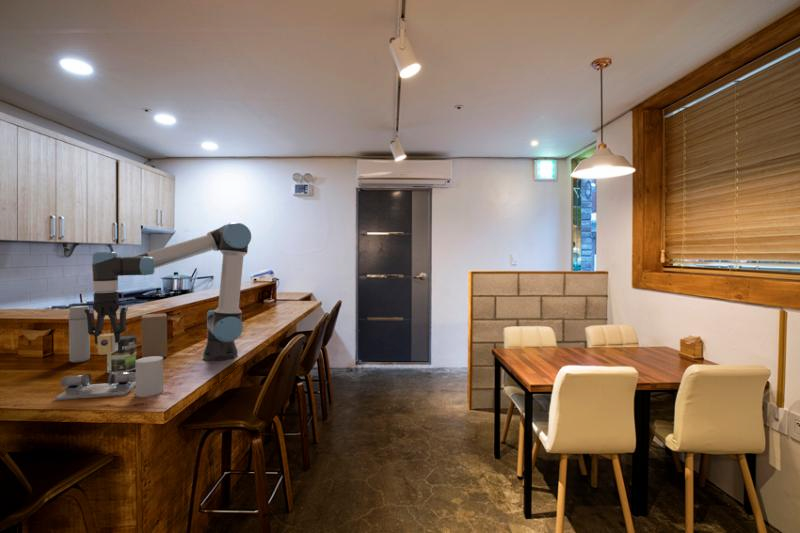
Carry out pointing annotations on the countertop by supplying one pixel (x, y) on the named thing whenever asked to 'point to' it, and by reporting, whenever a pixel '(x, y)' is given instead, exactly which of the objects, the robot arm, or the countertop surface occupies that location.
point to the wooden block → (154, 335)
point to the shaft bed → (97, 386)
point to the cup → (149, 376)
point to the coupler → (105, 344)
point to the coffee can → (123, 355)
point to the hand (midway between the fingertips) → (108, 351)
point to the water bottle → (78, 335)
